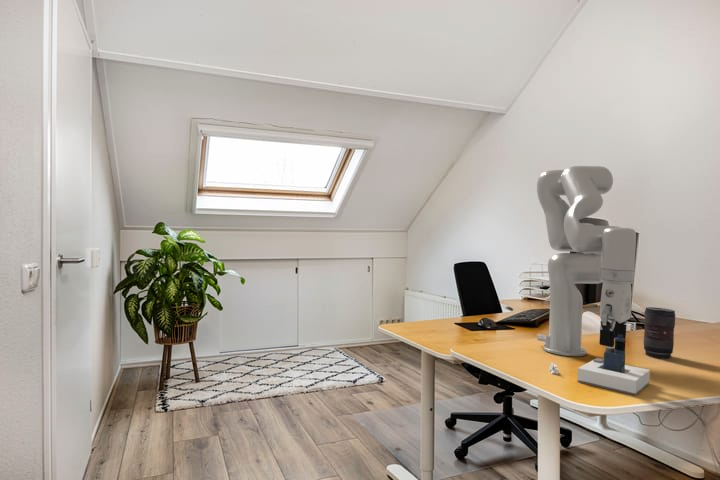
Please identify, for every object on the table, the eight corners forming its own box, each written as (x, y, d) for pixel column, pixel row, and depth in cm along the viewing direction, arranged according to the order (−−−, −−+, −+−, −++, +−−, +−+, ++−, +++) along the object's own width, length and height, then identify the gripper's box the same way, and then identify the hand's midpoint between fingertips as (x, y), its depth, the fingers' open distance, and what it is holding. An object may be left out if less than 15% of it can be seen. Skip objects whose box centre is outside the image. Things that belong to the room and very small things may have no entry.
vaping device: (620, 384, 113) (621, 336, 113) (600, 378, 118) (602, 331, 117) (626, 382, 114) (628, 335, 114) (607, 376, 119) (608, 331, 119)
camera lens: (678, 360, 138) (680, 311, 138) (649, 358, 140) (651, 310, 140) (666, 353, 146) (668, 307, 146) (638, 351, 148) (640, 306, 148)
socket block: (577, 381, 116) (578, 366, 116) (594, 371, 125) (595, 357, 125) (635, 395, 107) (635, 378, 106) (649, 383, 116) (650, 367, 116)
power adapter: (547, 372, 124) (547, 361, 124) (557, 373, 124) (557, 361, 124) (552, 376, 121) (552, 364, 121) (561, 376, 121) (562, 364, 121)
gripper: (622, 281, 107) (618, 352, 108) (642, 274, 119) (638, 339, 120) (589, 277, 112) (585, 345, 113) (611, 271, 124) (607, 333, 125)
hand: (612, 342), depth 117 cm, fingers open, 9 cm apart
